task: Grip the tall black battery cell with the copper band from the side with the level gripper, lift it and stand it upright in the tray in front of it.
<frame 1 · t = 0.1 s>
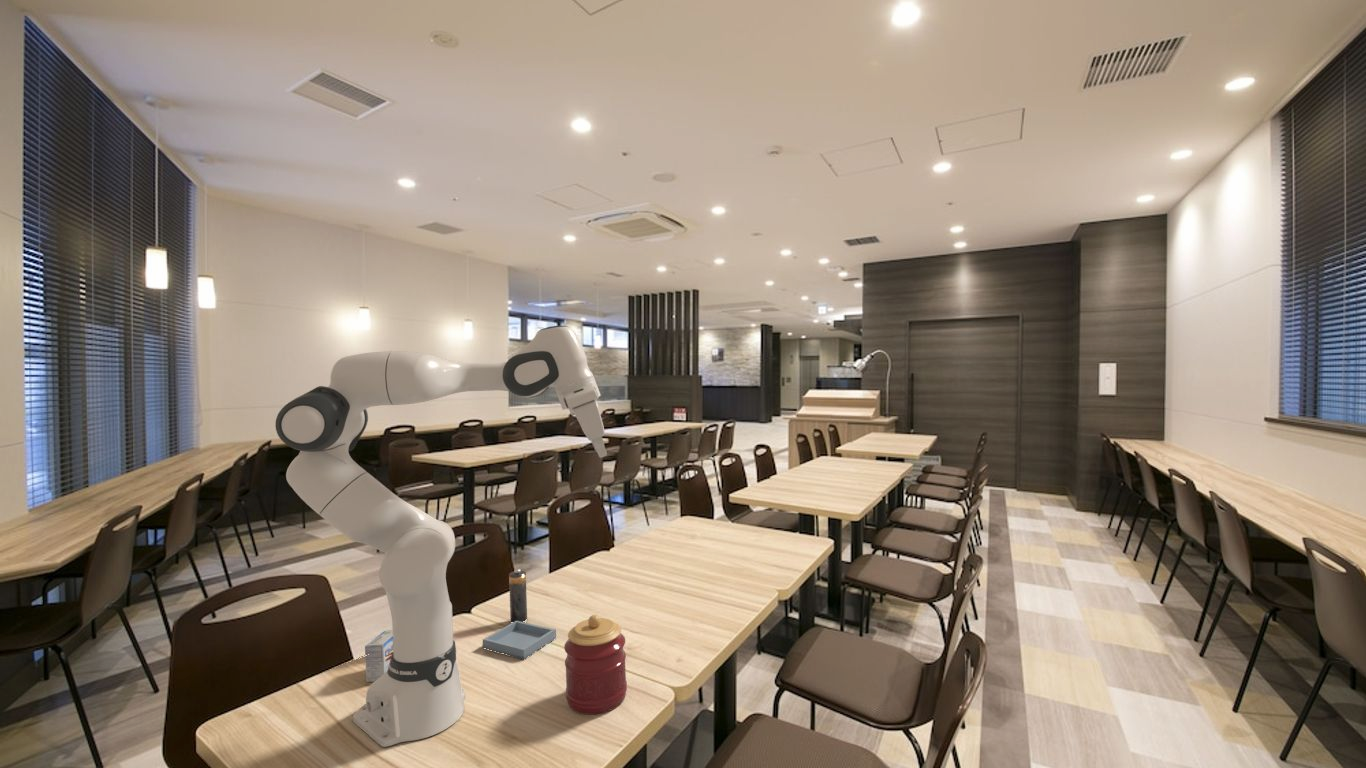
hand: (601, 453, 118), 52 cm above the table, tool tilted 20°, fingers open, 8 cm apart
medicine box: (384, 674, 127), on the table
canister: (596, 698, 114), on the table
battery cell: (518, 621, 153), on the table
tray: (520, 643, 139), on the table
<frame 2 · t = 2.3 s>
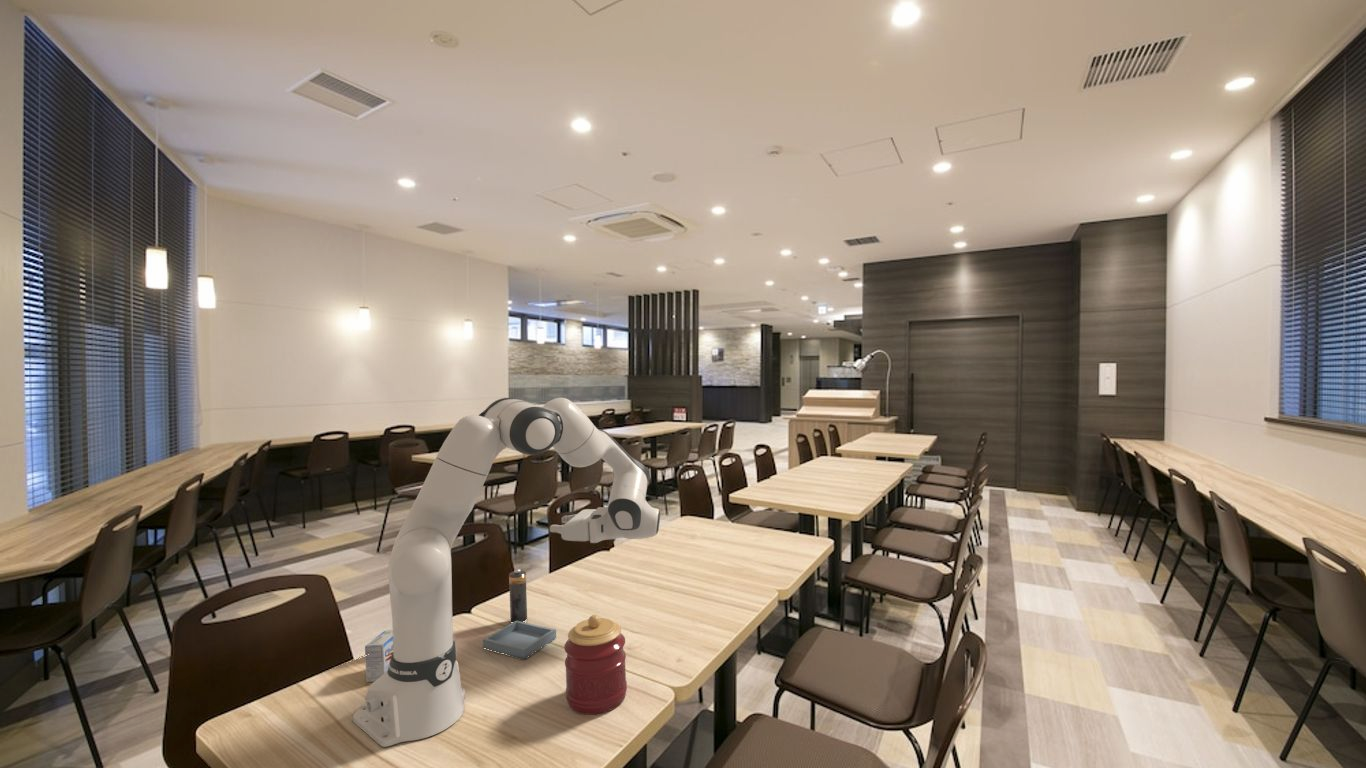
hand: (556, 523, 151), 28 cm above the table, tool horizontal, fingers open, 8 cm apart
nothing on the table moved.
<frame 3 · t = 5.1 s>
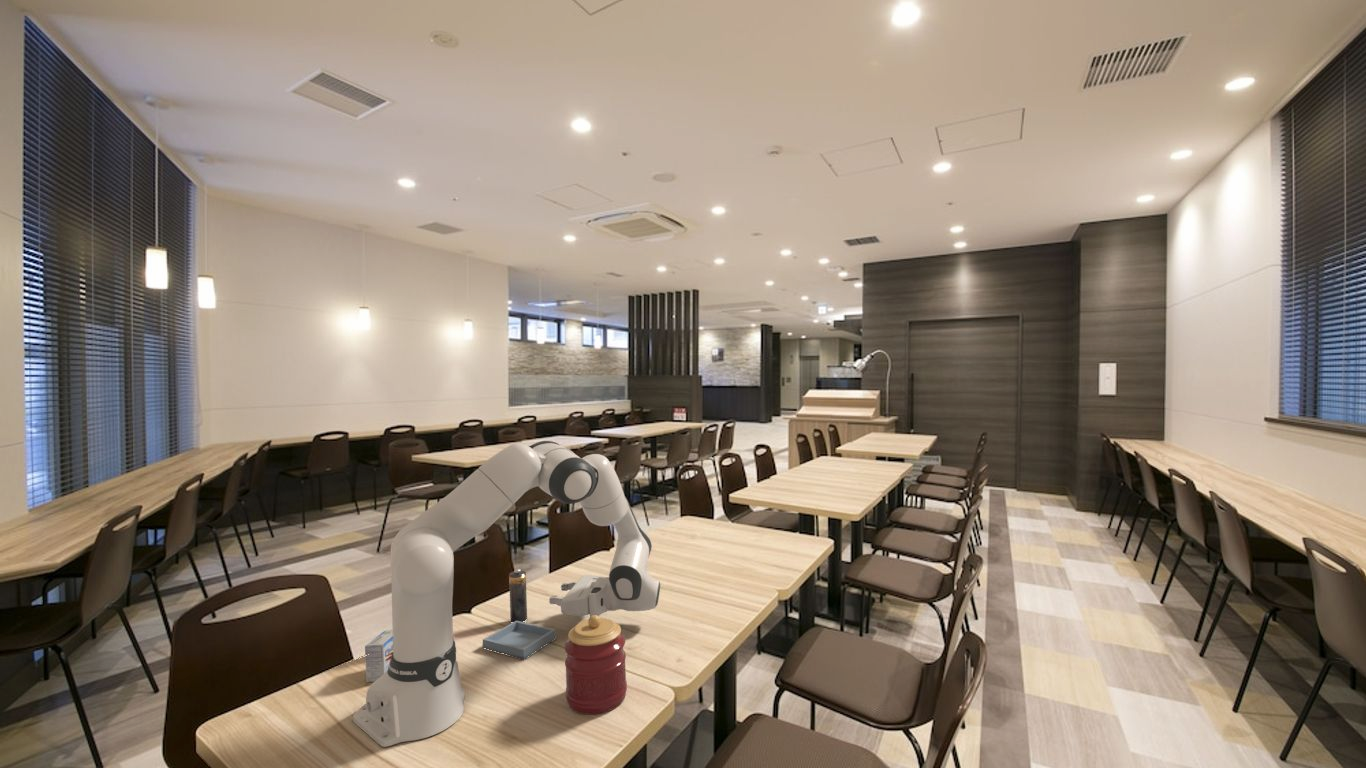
hand: (556, 593, 151), 8 cm above the table, tool horizontal, fingers open, 8 cm apart
nothing on the table moved.
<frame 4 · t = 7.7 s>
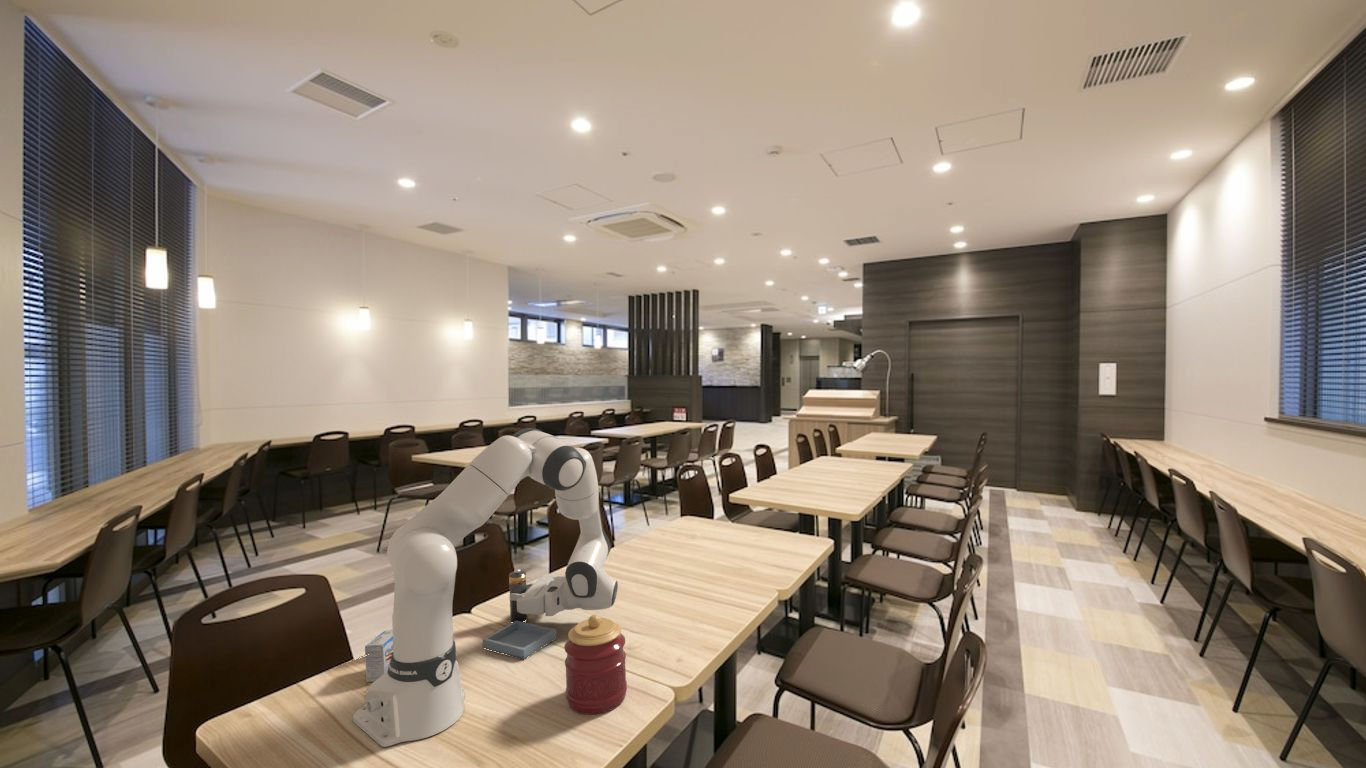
hand: (515, 592, 153), 9 cm above the table, tool horizontal, fingers closed on battery cell, 5 cm apart
battery cell: (518, 621, 153), on the table, touching gripper
everything else where it was.
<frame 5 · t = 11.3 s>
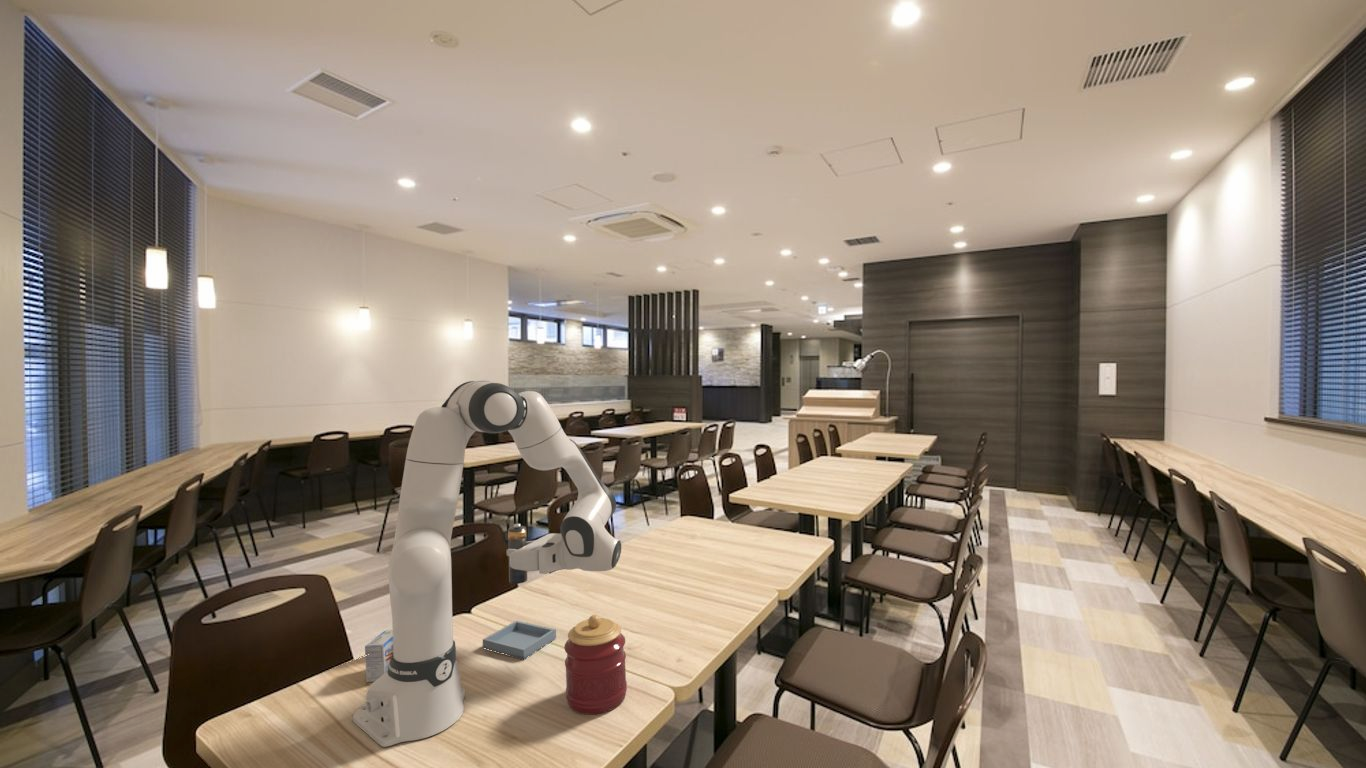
hand: (514, 548, 142), 24 cm above the table, tool horizontal, fingers closed on battery cell, 5 cm apart
battery cell: (518, 580, 141), point 16 cm above the table, touching gripper
everything else where it was.
when the fingers open (11 cm above the table, at t = 14.8 s): battery cell drops 1 cm, resting on tray.
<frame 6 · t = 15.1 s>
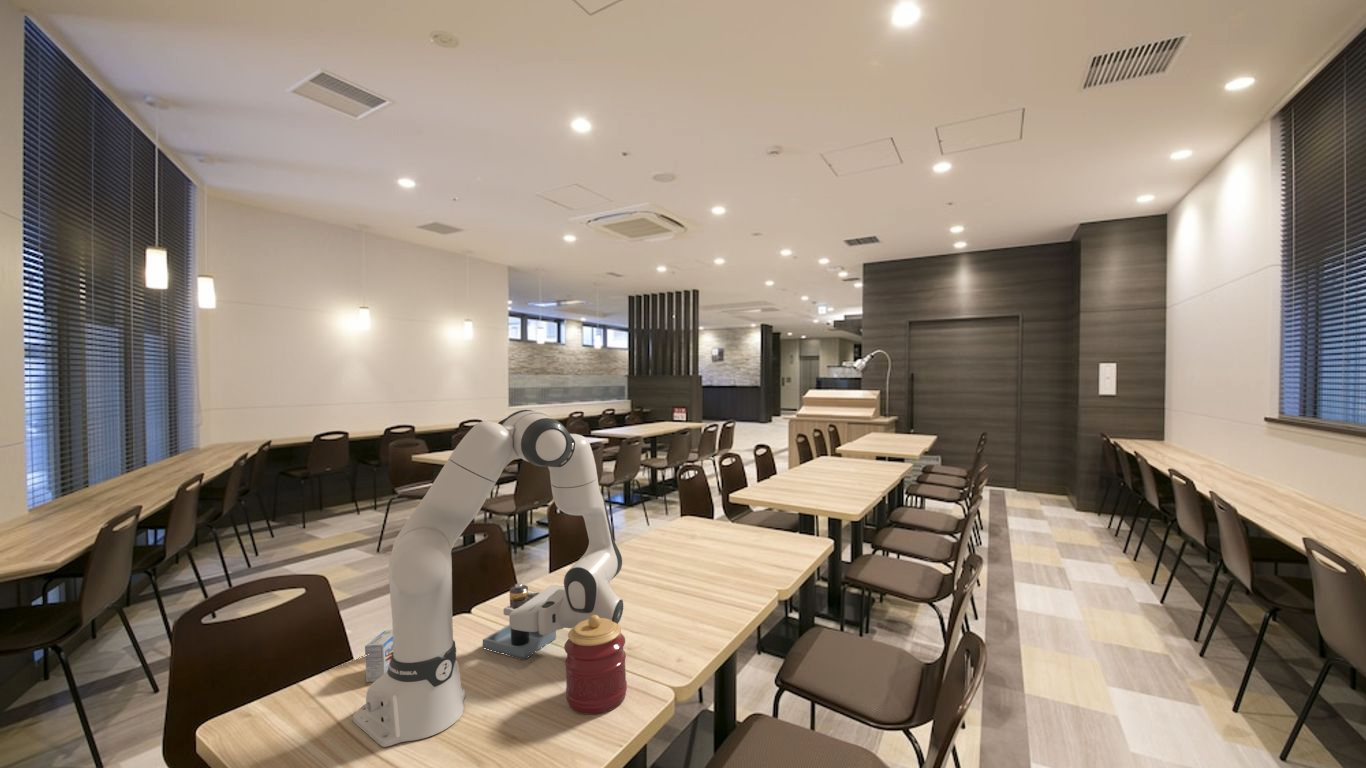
hand: (516, 603, 140), 11 cm above the table, tool horizontal, fingers open, 8 cm apart
battery cell: (520, 641, 139), point 1 cm above the table, touching tray
everything else where it was.
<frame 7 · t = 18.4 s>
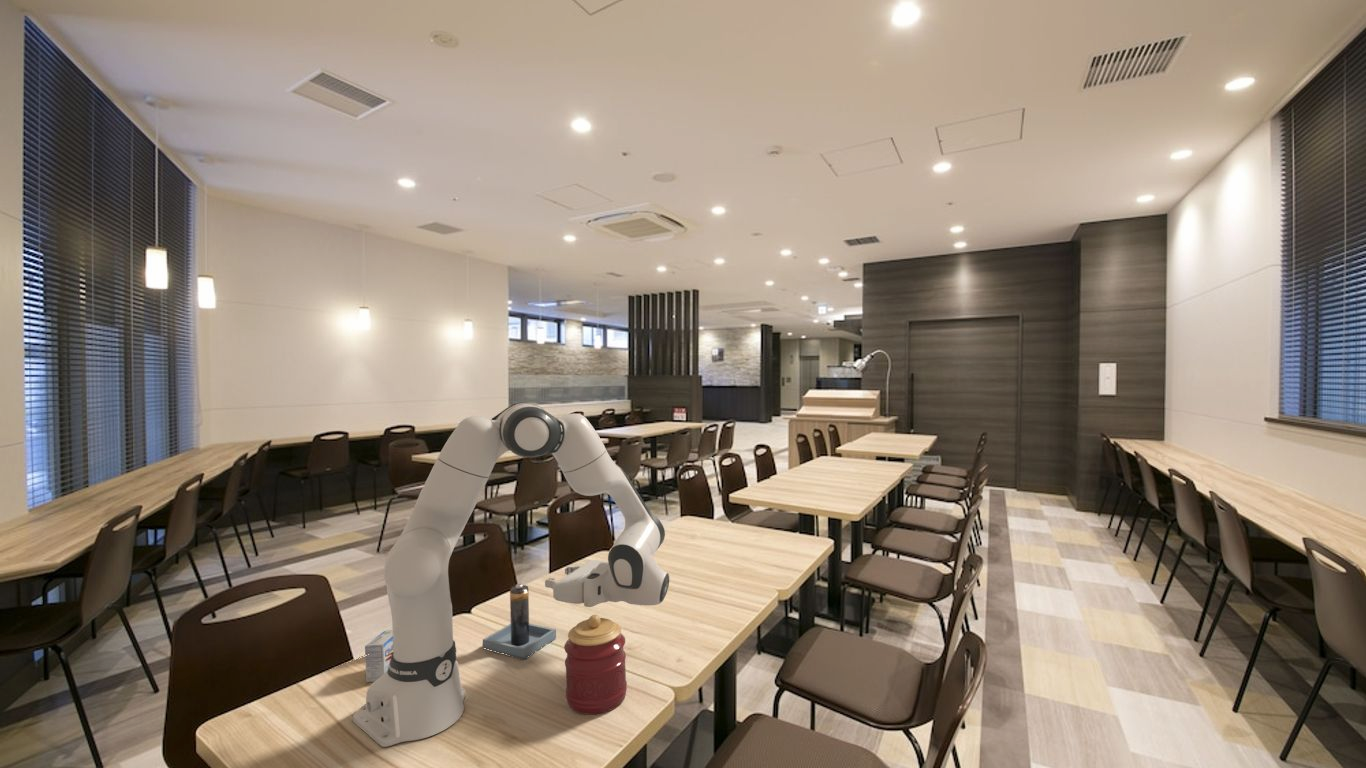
hand: (556, 576, 136), 19 cm above the table, tool horizontal, fingers open, 8 cm apart
nothing on the table moved.
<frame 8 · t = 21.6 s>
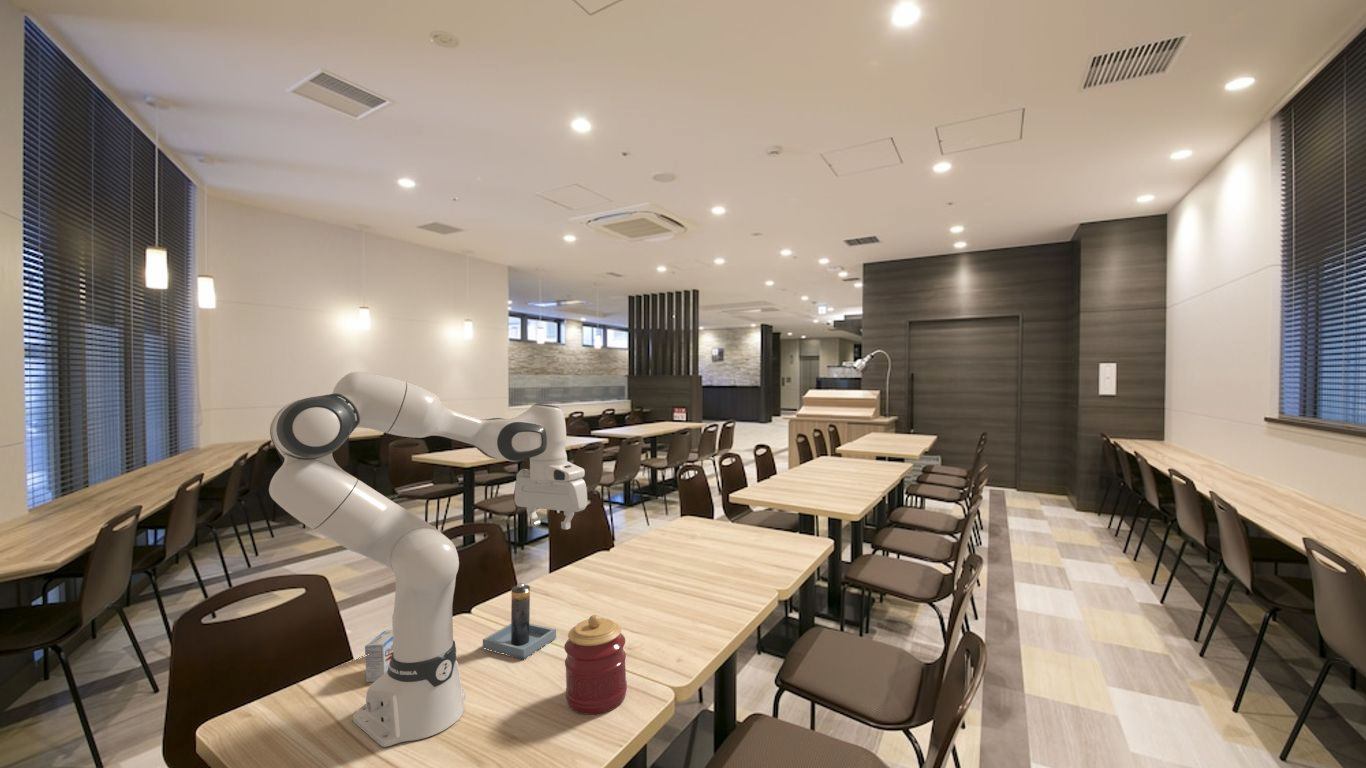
hand: (550, 527, 129), 33 cm above the table, tool pointing down, fingers open, 8 cm apart
nothing on the table moved.
at the end: battery cell inside the target area on the tray (0.1 cm from its centre), point 0.7 cm above the tray's base; battery cell tilted 1°; the gripper is holding nothing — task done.
